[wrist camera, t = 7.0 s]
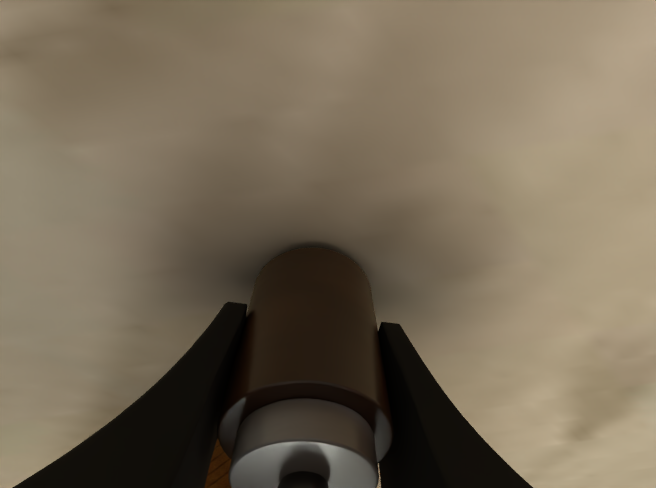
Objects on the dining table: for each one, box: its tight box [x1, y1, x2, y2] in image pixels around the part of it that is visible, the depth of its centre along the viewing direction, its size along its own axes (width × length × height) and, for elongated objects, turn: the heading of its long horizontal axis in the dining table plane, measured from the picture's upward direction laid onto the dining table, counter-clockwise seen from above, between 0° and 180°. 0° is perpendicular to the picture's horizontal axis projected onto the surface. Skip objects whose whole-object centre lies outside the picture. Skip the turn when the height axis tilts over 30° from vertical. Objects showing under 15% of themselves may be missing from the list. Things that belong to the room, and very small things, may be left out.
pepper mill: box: [217, 248, 394, 488], centre depth 11 cm, size 4×4×8 cm
